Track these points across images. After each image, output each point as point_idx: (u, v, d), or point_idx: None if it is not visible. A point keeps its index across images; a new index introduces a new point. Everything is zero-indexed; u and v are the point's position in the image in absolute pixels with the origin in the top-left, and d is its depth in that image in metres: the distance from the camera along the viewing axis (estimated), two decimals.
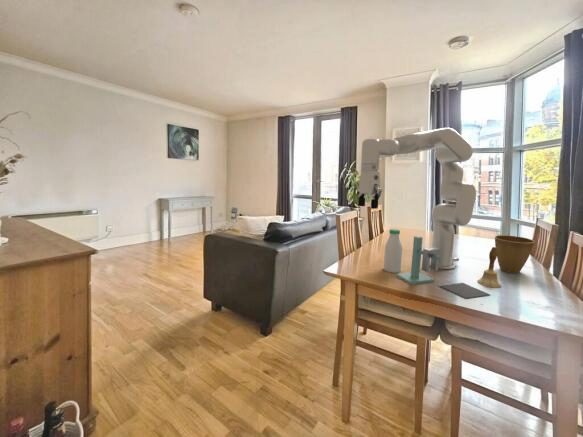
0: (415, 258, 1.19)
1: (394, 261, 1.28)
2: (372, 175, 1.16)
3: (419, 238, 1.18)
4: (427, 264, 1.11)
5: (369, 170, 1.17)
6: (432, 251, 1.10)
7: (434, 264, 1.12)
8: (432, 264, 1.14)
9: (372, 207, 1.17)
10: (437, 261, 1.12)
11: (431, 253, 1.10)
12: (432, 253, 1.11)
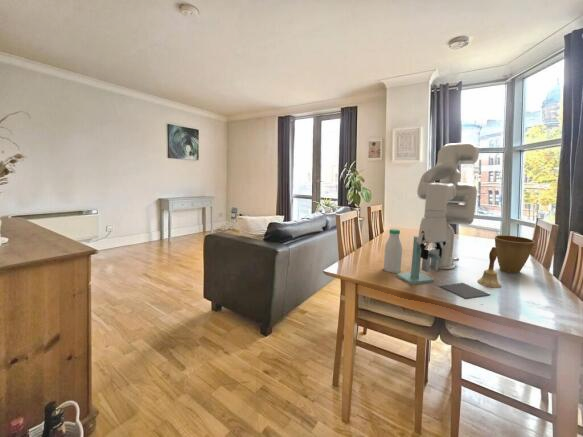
0: (415, 258, 1.19)
1: (394, 261, 1.28)
2: None
3: None
4: (427, 264, 1.11)
5: None
6: (432, 251, 1.10)
7: (434, 264, 1.12)
8: (432, 264, 1.14)
9: None
10: (437, 261, 1.12)
11: (431, 253, 1.10)
12: (432, 253, 1.11)
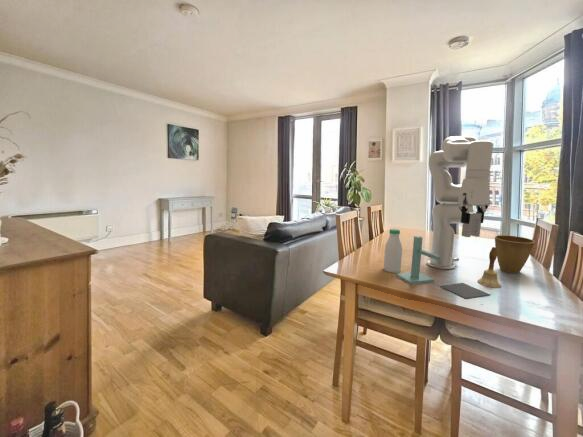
0: (415, 258, 1.19)
1: (394, 261, 1.28)
2: None
3: (419, 238, 1.18)
4: (468, 229, 1.03)
5: None
6: (474, 215, 1.03)
7: (475, 229, 1.05)
8: (473, 230, 1.06)
9: None
10: (479, 226, 1.05)
11: (473, 217, 1.03)
12: (474, 217, 1.03)
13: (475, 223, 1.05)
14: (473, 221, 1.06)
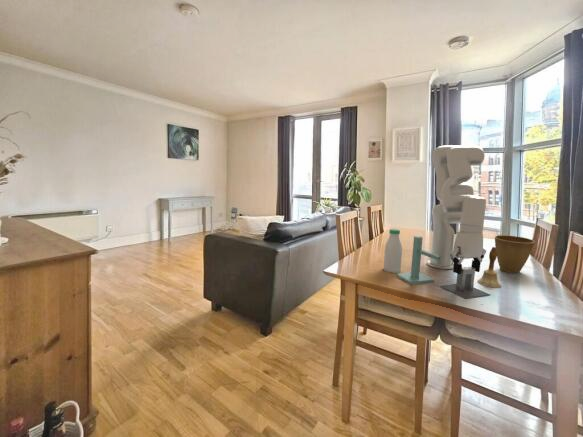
0: (415, 258, 1.19)
1: (394, 261, 1.28)
2: None
3: (419, 238, 1.18)
4: (462, 284, 1.07)
5: None
6: (467, 270, 1.07)
7: (469, 283, 1.09)
8: (466, 283, 1.10)
9: None
10: (472, 280, 1.08)
11: (466, 272, 1.07)
12: (467, 272, 1.07)
13: (469, 277, 1.09)
14: (467, 275, 1.09)
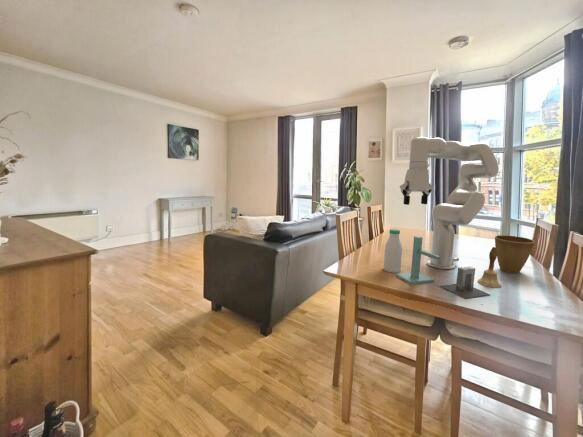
0: (415, 258, 1.19)
1: (394, 261, 1.28)
2: None
3: (419, 238, 1.18)
4: (462, 284, 1.07)
5: None
6: (467, 270, 1.07)
7: (469, 283, 1.09)
8: (466, 283, 1.10)
9: None
10: (472, 280, 1.08)
11: (466, 272, 1.07)
12: (467, 272, 1.07)
13: (469, 277, 1.09)
14: (467, 275, 1.09)
